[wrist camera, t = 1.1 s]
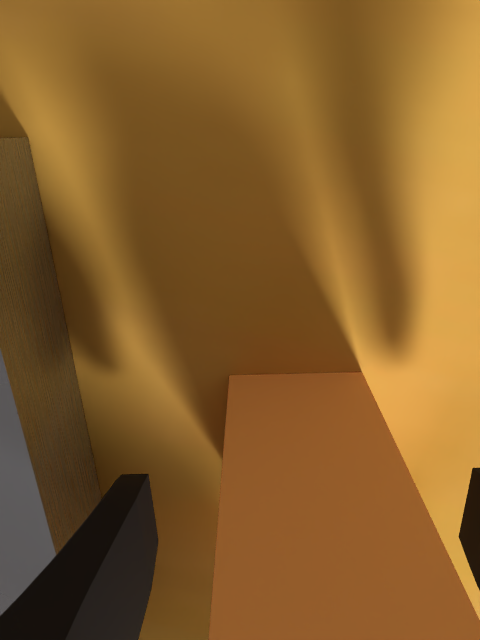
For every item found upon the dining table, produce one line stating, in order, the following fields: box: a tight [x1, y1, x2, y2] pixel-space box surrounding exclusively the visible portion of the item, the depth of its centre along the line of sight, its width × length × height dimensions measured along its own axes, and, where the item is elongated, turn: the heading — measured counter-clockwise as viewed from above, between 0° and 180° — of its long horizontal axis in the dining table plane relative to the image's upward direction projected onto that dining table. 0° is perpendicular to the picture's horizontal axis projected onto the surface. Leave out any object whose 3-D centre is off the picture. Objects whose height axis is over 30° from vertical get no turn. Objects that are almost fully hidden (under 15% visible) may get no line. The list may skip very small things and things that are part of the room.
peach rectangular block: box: [208, 372, 480, 640], centre depth 10 cm, size 4×4×7 cm
